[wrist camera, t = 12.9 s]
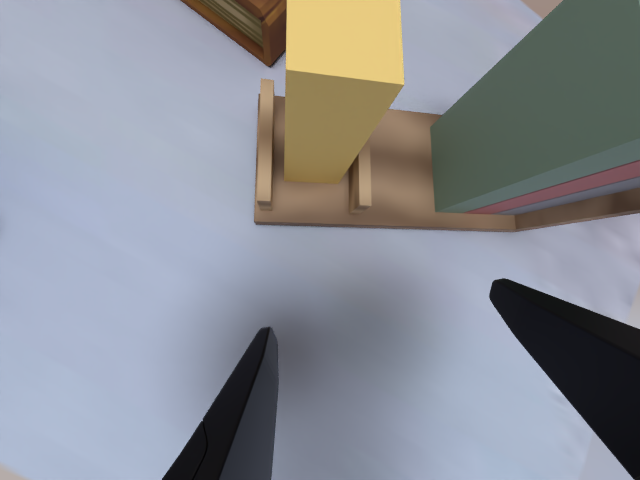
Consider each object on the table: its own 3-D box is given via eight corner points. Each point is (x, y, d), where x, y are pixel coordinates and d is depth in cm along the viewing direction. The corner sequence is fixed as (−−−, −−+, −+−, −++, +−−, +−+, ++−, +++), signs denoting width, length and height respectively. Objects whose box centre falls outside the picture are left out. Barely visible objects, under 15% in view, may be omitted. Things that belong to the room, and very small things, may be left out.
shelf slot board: (513, 232, 26) (842, 182, 11) (256, 224, 22) (192, 121, 6) (504, 131, 27) (782, -40, 12) (260, 104, 23) (215, -215, 8)
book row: (514, 215, 24) (813, 148, 11) (434, 212, 23) (662, 129, 9) (506, 135, 25) (769, -20, 12) (430, 127, 24) (627, -62, 10)
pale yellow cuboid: (338, 183, 22) (404, 84, 10) (284, 180, 21) (285, 69, 9) (337, 138, 22) (399, -7, 10) (284, 134, 21) (287, -29, 10)
